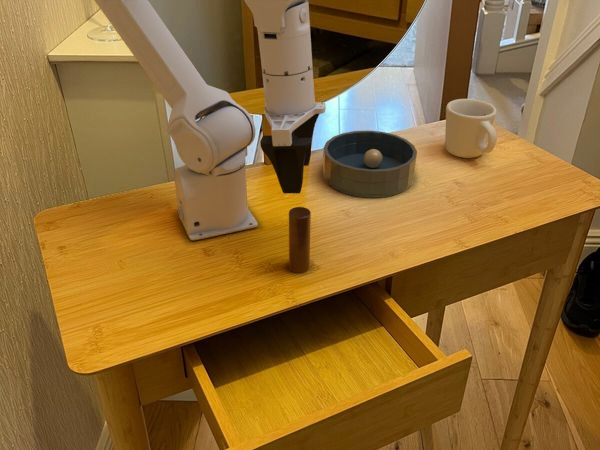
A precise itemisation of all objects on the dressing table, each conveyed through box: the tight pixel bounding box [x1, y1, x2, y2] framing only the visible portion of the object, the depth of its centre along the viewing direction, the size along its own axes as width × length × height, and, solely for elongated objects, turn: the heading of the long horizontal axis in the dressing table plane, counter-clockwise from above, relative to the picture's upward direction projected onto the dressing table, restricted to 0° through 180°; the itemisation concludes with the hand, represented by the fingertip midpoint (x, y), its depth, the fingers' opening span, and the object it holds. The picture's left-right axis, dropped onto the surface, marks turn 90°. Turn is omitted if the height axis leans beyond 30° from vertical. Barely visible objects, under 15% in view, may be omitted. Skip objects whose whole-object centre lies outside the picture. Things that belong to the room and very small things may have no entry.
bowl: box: [322, 130, 418, 199], centre depth 97 cm, size 14×14×4 cm
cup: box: [444, 98, 498, 159], centre depth 102 cm, size 11×8×8 cm
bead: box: [364, 149, 383, 168], centre depth 99 cm, size 3×3×3 cm
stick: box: [288, 206, 312, 274], centre depth 76 cm, size 3×3×8 cm
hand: (296, 177), depth 77 cm, fingers open, 7 cm apart
